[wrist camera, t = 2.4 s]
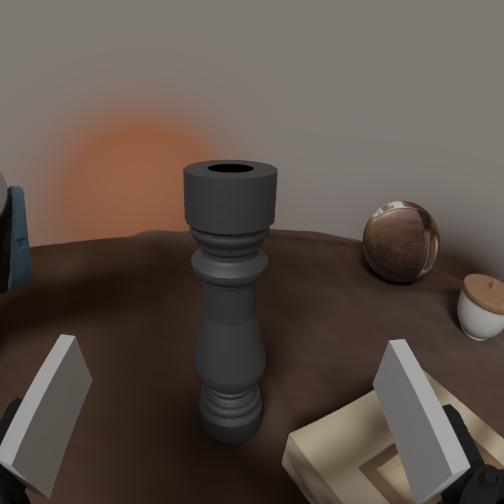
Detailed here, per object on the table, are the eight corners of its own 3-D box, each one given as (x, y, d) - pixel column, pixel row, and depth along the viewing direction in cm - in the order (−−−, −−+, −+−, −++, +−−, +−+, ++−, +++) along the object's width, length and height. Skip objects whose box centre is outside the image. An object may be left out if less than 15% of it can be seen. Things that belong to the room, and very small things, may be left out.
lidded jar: (467, 354, 37) (491, 301, 33) (438, 312, 47) (455, 264, 43) (509, 345, 37) (533, 297, 33) (480, 309, 47) (498, 265, 43)
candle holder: (267, 404, 32) (289, 163, 21) (252, 450, 26) (270, 184, 15) (213, 391, 33) (203, 157, 22) (192, 434, 28) (159, 175, 17)
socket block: (281, 463, 25) (289, 432, 22) (397, 398, 32) (415, 362, 29) (411, 617, 8) (451, 613, 5) (514, 507, 14) (551, 479, 12)
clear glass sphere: (346, 259, 64) (357, 188, 57) (406, 259, 65) (421, 194, 58) (373, 300, 50) (393, 216, 44) (441, 296, 51) (464, 220, 45)
